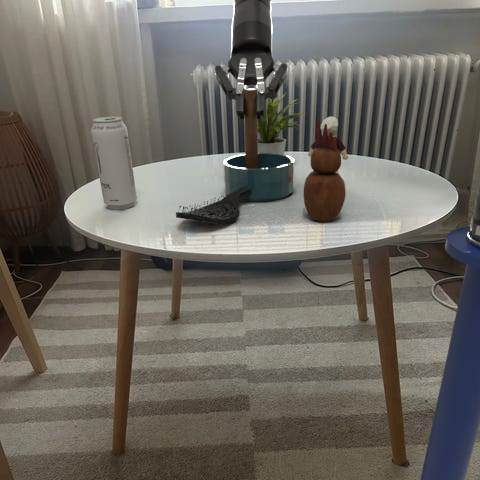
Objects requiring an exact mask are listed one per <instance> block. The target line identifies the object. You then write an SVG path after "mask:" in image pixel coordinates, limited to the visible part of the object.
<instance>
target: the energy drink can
mask: <svg viewBox="0 0 480 480" xmlns="http://www.w3.org/2000/svg"><path fill="white" fill-rule="evenodd" d="M92 122H93V124H92V127H91V129H90V133H91V137H92V144H93V149H94V154H95V155H94V156H95V161H96V165H97V171H98V177H99V183H100V188H101V194H102V201H103V203H104V204H105V205H107V208H108V209H110V210H116V211H117V210H127V209H130V208H133V207H135V205H136V201H137V200H138V195H137V188H136V182H135V175H134V174H135V173H134V167H133V160H132V155H131V153H132V152H131V148H130V140H129V139H130V138H129V132H128V128H127V126H126V124H125V123H124V121H123V117H122V116H103V117H96V118H93V119H92Z"/></svg>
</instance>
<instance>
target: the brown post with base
mask: <svg viewBox="0 0 480 480" xmlns="http://www.w3.org/2000/svg"><path fill="white" fill-rule="evenodd" d="M257 94H258V92H257V88H246V89H244V119H243V121H244V122H243V123H244V124H243V126H244V128H243V129H244V154H245V166H246V168H248V169H258V139H259V133H258V120H257Z"/></svg>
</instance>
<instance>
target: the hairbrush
mask: <svg viewBox="0 0 480 480" xmlns="http://www.w3.org/2000/svg"><path fill="white" fill-rule="evenodd" d="M249 194H251V189H242V188H239V189H237V190H235V191H233V192H231V193H230V194H227V195H226V196H223V195H222V194H221V196H219V197H218V198H217V197H214V199H212V198H211V199H210V203H209V201H203V204H200V205H196V203H195V204H194V205H193V204H192V205H189V207H188V206H182V205H179V210H181V211H182V212H180V211H176V212H175V218H176V219H183V220H189V221H195V222H200V223H205V224H206V223H207V224H213V225H222V226H225V225H227V224H231V223H233V222H236V221H237V220H238V218H239V216H240V201H241V200H240V198H242V197H244V196H246V195H249ZM221 197H222V198H221ZM220 198H221V199H220ZM216 199H217V201H216ZM198 207H199V208H198ZM189 208H190V209H189Z"/></svg>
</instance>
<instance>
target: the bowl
mask: <svg viewBox="0 0 480 480" xmlns="http://www.w3.org/2000/svg"><path fill="white" fill-rule="evenodd" d="M222 163H223V164H222V165H223V185H224V187H223V188H224V192H225V194H227V195H228V194H230V193H231V192H233V191H235V190H237V189H239V188H242V189H251V194H249V195H246V196H244V197H242V198H240V200H239V201H243V202H253V203H254V202H255V203H256V202H258V203H259V202H260V203H263V202H271V201H272V202H273V201H277V200H281V199H284V198H287V197H288V196H289V195H290V194H292V193H293V192H294V189H295V159H294V158H293V157H292V156H289V155H286V154H284V155H281V154H272V153H258V169H248V168H246V166H245V153H244V154H238V155H233V156H230V157H228V158H225V159H224V160H223V162H222Z"/></svg>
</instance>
